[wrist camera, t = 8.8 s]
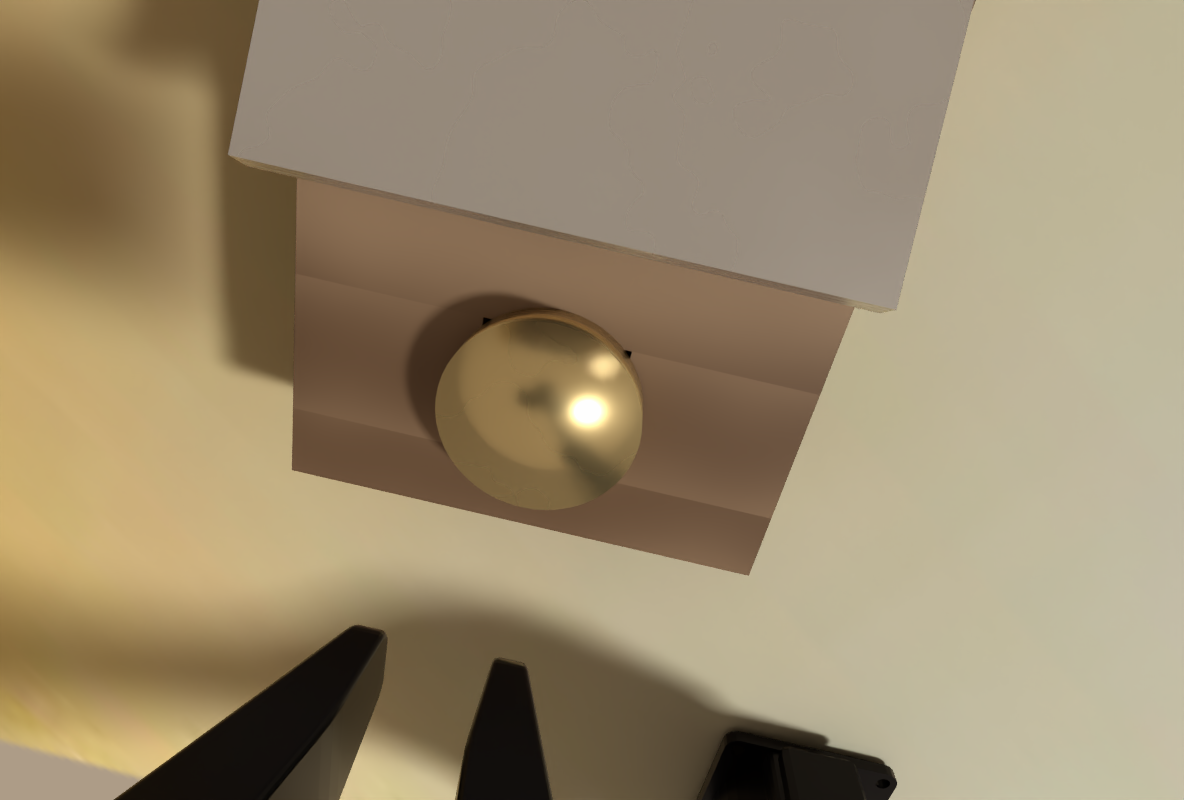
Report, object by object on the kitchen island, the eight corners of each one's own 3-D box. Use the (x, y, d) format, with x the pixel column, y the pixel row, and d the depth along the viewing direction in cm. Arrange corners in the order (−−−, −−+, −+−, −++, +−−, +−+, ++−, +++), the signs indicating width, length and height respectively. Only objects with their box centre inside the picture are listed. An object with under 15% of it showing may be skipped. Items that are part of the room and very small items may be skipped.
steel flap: (880, 313, 11) (896, 309, 10) (248, 166, 11) (227, 154, 10) (983, -104, 11) (1007, -131, 10) (333, -253, 11) (317, -292, 10)
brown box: (732, 491, 20) (753, 602, 16) (357, 405, 20) (270, 490, 16) (957, -139, 14) (1106, -263, 9) (400, -268, 14) (271, -457, 9)
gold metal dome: (625, 436, 20) (615, 529, 15) (476, 401, 20) (425, 484, 15) (664, 290, 18) (666, 349, 13) (499, 251, 18) (447, 298, 13)
